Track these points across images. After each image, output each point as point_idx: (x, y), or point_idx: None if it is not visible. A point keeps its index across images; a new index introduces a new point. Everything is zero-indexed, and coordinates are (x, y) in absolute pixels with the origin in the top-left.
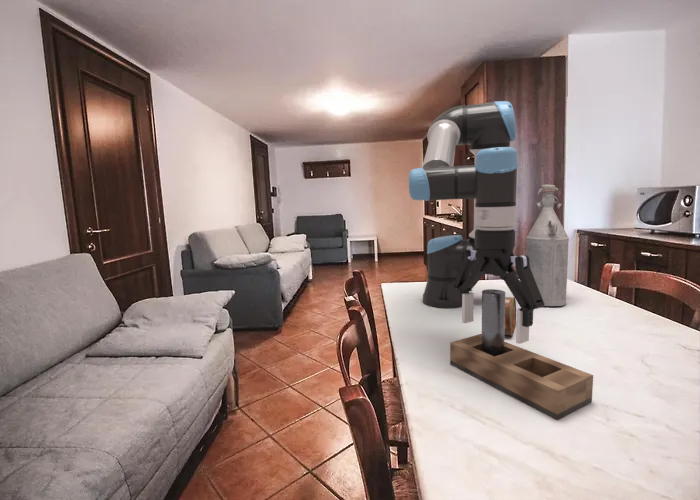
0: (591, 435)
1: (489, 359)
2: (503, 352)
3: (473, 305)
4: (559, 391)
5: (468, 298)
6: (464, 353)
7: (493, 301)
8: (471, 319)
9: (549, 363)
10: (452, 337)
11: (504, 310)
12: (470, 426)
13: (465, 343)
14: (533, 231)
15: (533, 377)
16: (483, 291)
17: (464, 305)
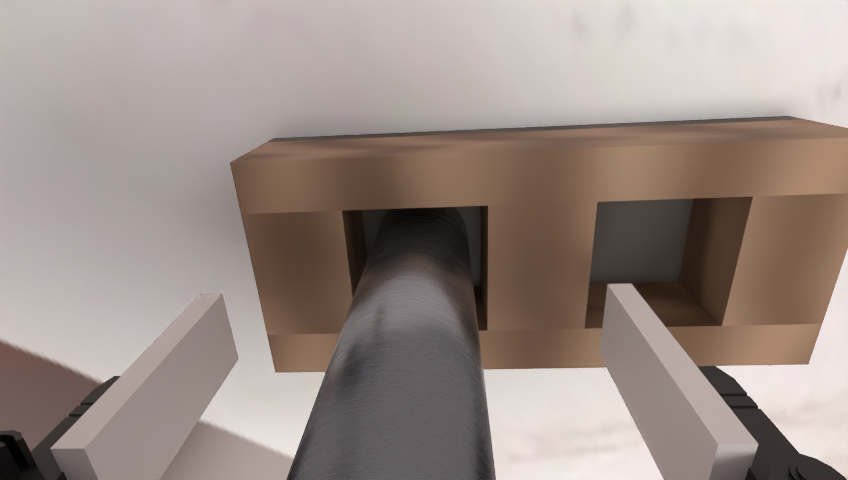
0: (837, 290)
1: (494, 363)
2: (467, 252)
3: (161, 362)
4: (808, 357)
5: (136, 464)
6: None
7: None
8: (220, 318)
9: (685, 195)
10: (40, 113)
11: (484, 404)
12: (601, 476)
13: (313, 330)
14: None
15: (697, 350)
16: None
17: (177, 451)
